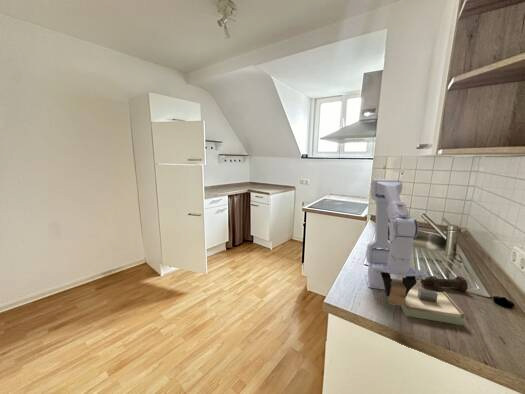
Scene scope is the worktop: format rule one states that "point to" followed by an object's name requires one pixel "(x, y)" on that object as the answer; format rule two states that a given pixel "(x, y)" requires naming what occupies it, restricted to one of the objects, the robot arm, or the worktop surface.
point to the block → (397, 293)
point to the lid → (431, 302)
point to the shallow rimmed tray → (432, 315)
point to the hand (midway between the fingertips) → (394, 295)
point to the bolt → (445, 283)
